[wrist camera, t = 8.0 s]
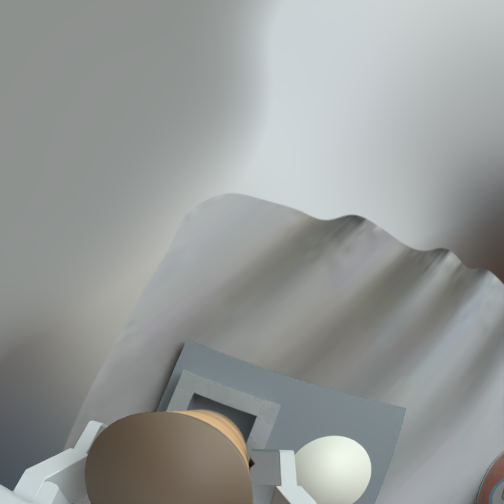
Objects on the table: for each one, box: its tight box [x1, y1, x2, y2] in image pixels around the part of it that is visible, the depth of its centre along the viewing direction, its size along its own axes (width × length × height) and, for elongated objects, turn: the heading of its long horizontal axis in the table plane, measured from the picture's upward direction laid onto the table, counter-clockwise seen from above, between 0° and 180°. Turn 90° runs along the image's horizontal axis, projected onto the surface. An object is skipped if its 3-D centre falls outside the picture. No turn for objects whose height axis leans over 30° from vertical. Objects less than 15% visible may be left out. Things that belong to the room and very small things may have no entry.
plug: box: [85, 409, 253, 504], centre depth 10 cm, size 4×4×9 cm
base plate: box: [156, 340, 406, 504], centre depth 24 cm, size 16×22×1 cm
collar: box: [166, 369, 281, 464], centre depth 23 cm, size 8×8×2 cm
